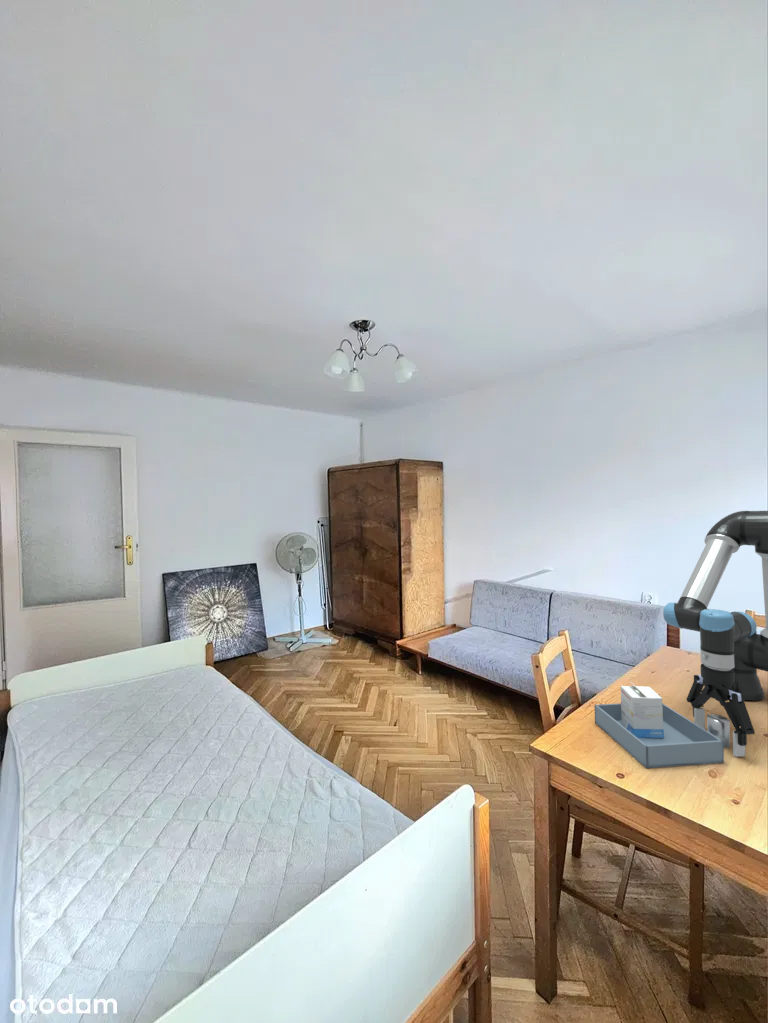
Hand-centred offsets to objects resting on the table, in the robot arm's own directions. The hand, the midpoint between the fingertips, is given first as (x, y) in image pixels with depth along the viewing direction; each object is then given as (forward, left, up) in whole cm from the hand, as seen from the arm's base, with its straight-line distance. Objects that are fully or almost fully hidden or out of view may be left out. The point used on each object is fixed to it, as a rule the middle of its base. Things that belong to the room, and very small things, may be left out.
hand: (718, 742), depth 119 cm
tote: (+17, -3, 0) cm, 17 cm away
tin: (0, 0, 0) cm, 0 cm away
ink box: (+17, -8, 0) cm, 19 cm away
